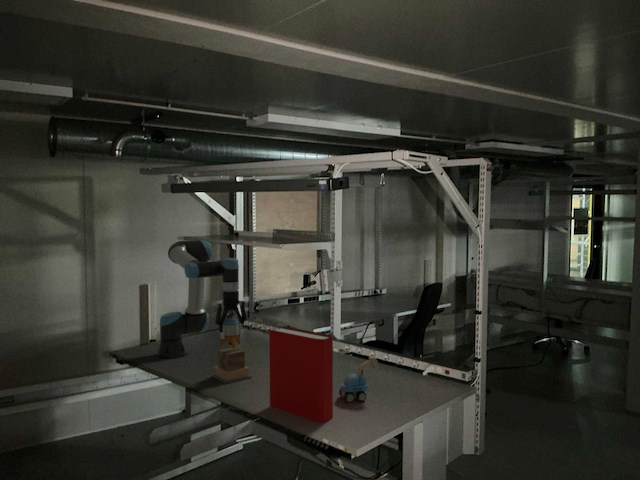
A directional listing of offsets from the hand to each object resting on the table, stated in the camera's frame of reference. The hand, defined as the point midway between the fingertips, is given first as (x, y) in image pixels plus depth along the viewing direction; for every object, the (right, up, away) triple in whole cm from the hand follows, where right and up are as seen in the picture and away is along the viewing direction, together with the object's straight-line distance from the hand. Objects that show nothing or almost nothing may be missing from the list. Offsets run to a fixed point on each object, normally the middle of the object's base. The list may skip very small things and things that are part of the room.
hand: (231, 337), depth 244 cm
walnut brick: (0, -15, +1) cm, 15 cm away
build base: (0, -20, +1) cm, 20 cm away
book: (+35, -22, -42) cm, 59 cm away
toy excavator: (+60, -21, -27) cm, 69 cm away
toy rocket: (-1, -4, -1) cm, 4 cm away
